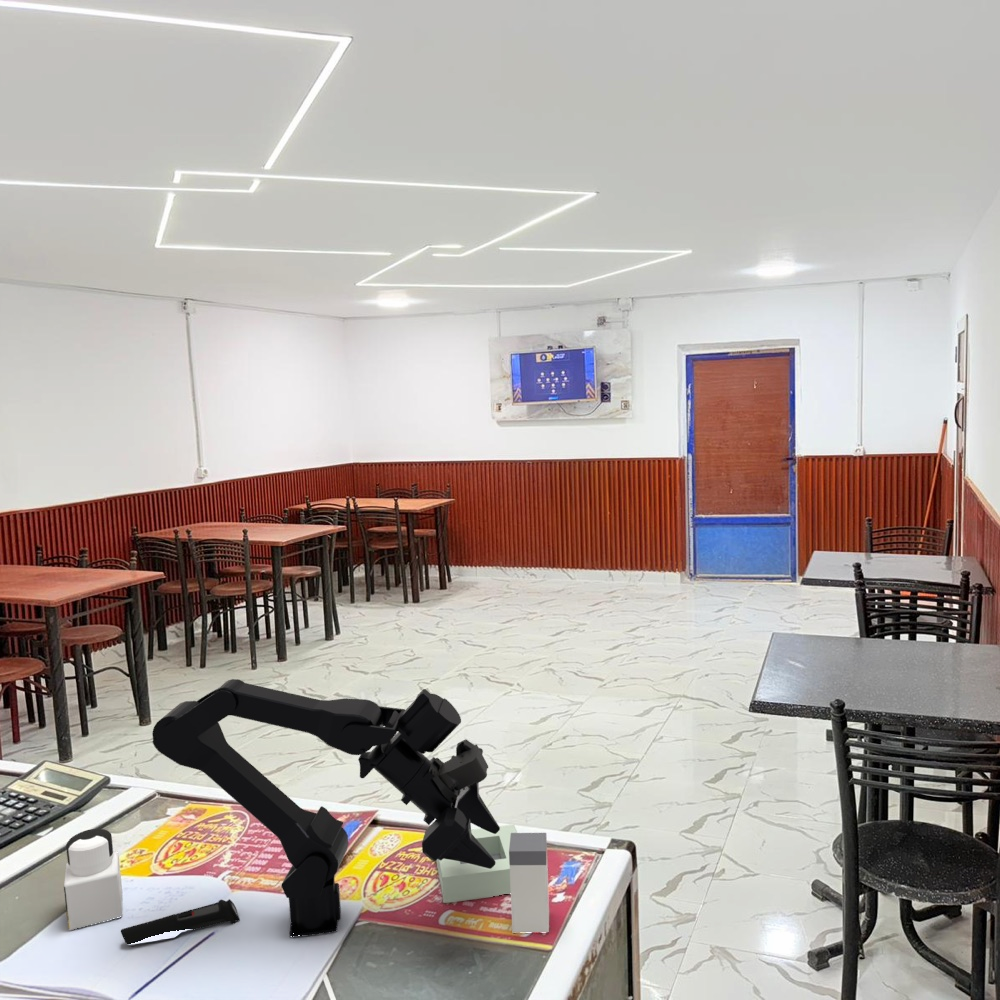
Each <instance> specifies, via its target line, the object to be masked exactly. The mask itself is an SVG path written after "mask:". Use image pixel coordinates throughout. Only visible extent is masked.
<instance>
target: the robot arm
mask: <svg viewBox="0 0 1000 1000" xmlns="http://www.w3.org/2000/svg"><path fill="white" fill-rule="evenodd" d="M229 716H233V717H236V718H240V719H241V718H242V719H245V720H250V721H254V722H259V723H263V724H267V725H271V726H277V727H281V728H285V729H289V730H293V731H298V732H302V733H306V734H310V735H313V736H314V737H317V738H318V739H319V740H321V741H322V742H323V743H324V744H326V745H327V746H329V747H331V748H333V749H336V750H339V751H341V752H343V753H345V754H347V755H351V756H359V757H358V762H359V778H360V779H365V778H366V777H367V776H368V775H369V774H370V773H371V772H372V771H373V769H374V770H375V771H376V772H377V773H378V774H379V775H381V776H382V778H384V779H385V780H386V781H387V782H388V783H390V784H391V786H393V787H394V788H396V790H397V791H399V792H400V794H402V797H401V800H400V801H401V802H402V803H403V804H404V805H406V806H407V805H408V804H409V803H410V802H411V803H412V804H413V805H414V806H415V807H416V808H418V810H420V811H421V812H422V813H423V814H424V817H423V822H425V824H426V825H428V827H427V828H426V829H425V832H424V834H423V839H422V840H421V841H422V842H421V848H422V850H421V851H422V854H423V855H425V856H426V857H427V858H428V859H429V860H431V862H436V860H437V859H439V860H442V859H449V860H455V861H461V862H465V863H469V864H473V865H477V866H481V867H485V868H489V869H491V868H492V867H493V866H494V865H495V863H496V862H495V860H494V859H493V858H492V857H491V855H490V854H489V853H488V852H487V851H486V849H485V848H484V847H483V846H482V845H481V844H480V843H479V841H478V840H477V839H476V838H475V837H474V836H473V835H472V833H471V830H472V826H471V825H472V824H473V825H474V826H476V827H478V828H479V829H480V828H482V829H484V830H486V831H489V832H491V833H493V834H496V833H497V832H498V831H499V830H500V827H499V826H500V825H499V824H498V822H497V820H495V818H494V816H493V815H492V813H491V811H490V810H489V808H488V807H487V805H486V803H485V801H484V800H483V798H482V797H481V794H480V793H479V792H480V791H479V790H480V787H479V785H480V784H479V783H481V782H482V781H484V780H485V779H486V778H487V777H488V776H487V775H488V769H489V765H488V762H487V761H486V759H485V757H484V755H483V753H484V750H483V749H482V747H479V746H478V744H474V743H472V742H471V741H469V740H468V739H464V740H461V741H459V742H458V743H457V744H456V747H455V748H456V749H455V753H456V755H455V754H454V755H452V756H451V758H450V759H448V760H447V761H445V762H443V761H442V760H441V759H440V758H438V757H435V756H433V757H432V758H431V759H429V758H428V757H426V755H425V753H433V752H434V751H436V749H437V748H438V747H439V746H440V745H441V744H442V743H443V742H444V741H445V740H446V739H447V738H448V736H450V735H451V734H452V732H453V731H454V730H455V729H456V728H457V727H458V726H459V725H460V724H461V723H462V718H461V715H460V714H459V711H457V709H456V708H455V706H454V705H453V704H452V703H451V702H450V701H449V700H448V699H446V698H445V697H444V698H443V697H442V696H440V695H438V694H435V693H431V692H430V691H428V689H426V688H423V689H421V691H420V692H419V693H418V695H417V696H416V698H415V699H414V700H413V702H411V704H409V706H408V707H407V708H406V709H405V708H400V707H399V708H397V707H389V706H388V707H387V706H380V705H378V704H377V703H376V702H374V701H372V700H369V699H361V698H338V699H337V698H336V699H329V700H327V699H325V700H324V699H318V698H313V697H309V696H305V695H304V696H303V695H299V694H295V693H292V692H286V691H281V690H277V689H273V688H269V687H266V686H259V685H256V684H250V683H247V682H245V681H243V680H240V679H235V678H234V679H233V678H231V679H227V680H226V681H225V682H224V683H223V684H222V685H220V686H219V687H218V688H216V689H214V690H212V691H210V692H209V693H206V695H204V696H203V697H201V698H199V699H198V700H193V701H192V700H189V701H188V700H187V701H183V702H180V703H179V704H177V705H176V706H175V707H174V708H172V709H171V710H170V711H169V712H168V713H166V714H165V715H164V716H163V717H162V718H160V719H159V720H158V721H157V722H156V723H155V725H154V727H153V729H152V744H153V746H154V748H155V749H156V751H157V752H159V753H160V754H161V755H163V756H165V757H166V758H168V759H169V760H170V761H172V762H174V763H175V764H177V765H179V766H182V767H186V768H190V769H194V770H198V771H200V772H202V773H203V774H205V775H206V776H207V777H208V778H209V779H210V780H212V781H213V782H214V783H215V784H216V785H217V786H218V787H219V788H221V789H222V790H224V792H225V793H226V794H228V795H229V796H230V797H231V798H232V799H233V800H235V802H237V803H238V805H240V806H241V807H242V808H244V809H245V810H246V811H247V812H248V813H249V814H251V815H252V816H253V817H254V818H255V819H256V820H257V821H259V822H260V823H261V824H262V825H263V826H264V827H265V828H266V829H268V831H270V832H271V833H272V834H273V835H275V837H277V839H278V840H279V841H280V844H281V846H282V848H283V852H284V854H285V856H286V858H287V861H288V862H289V863H290V865H291V867H290V868H289V870H288V872H287V874H286V876H285V878H284V879H283V880H282V882H281V888H282V889H281V890H282V891H283V893H284V895H285V897H286V898H287V899H288V904H289V919H290V923H289V924H290V926H289V937H290V936H292V937H293V936H298V935H300V936H301V937H303V936H302V935H308V936H313V935H312V934H315V935H320V934H319V933H323V934H330V933H335V932H337V931H338V921H340V920H341V916H342V915H341V913H342V912H341V911H342V910H341V909H342V908H341V893H340V889H341V888H340V884H339V883H338V882H336V880H335V875H336V874H337V873H338V870H339V868H340V866H341V865H342V861H343V859H344V858H345V855H346V853H347V850H348V847H349V839H348V838H349V834H348V833H347V831H346V830H345V829H344V827H343V825H344V822H343V821H341V820H339V819H337V818H336V817H334V816H333V815H332V814H331V812H329V810H328V809H327V808H326V807H324V806H322V805H321V806H320V807H319V808H318V810H317V812H315V811H314V812H313V811H311V810H306V809H304V808H302V807H300V806H299V805H298V804H297V803H296V802H294V800H292V798H290V797H289V796H288V795H287V794H286V793H284V792H283V790H281V789H280V788H279V787H278V786H276V784H274V783H273V782H272V781H271V780H269V779H268V778H267V777H266V776H265V775H264V774H263V773H261V772H260V771H259V769H257V768H256V767H255V766H254V765H253V764H251V763H250V762H249V761H248V760H247V759H246V758H245V757H243V755H241V754H240V753H239V752H238V751H237V750H236V749H234V747H232V746H231V744H229V743H228V742H227V740H226V737H225V735H224V733H223V730H222V727H221V725H220V723H219V722H221V721H222V720H224V719H225V718H227V717H229ZM372 748H373V749H372ZM371 749H372V750H371ZM370 750H371V751H370ZM337 920H338V921H337ZM336 930H337V931H336ZM329 932H330V933H329ZM293 933H294V934H293ZM293 938H294V937H293Z"/></svg>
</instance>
